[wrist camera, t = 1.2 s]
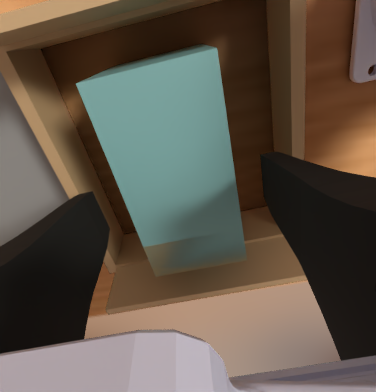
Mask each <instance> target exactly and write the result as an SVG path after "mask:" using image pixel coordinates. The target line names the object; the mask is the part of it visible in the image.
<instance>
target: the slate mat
mask: <svg viewBox="0 0 376 392" xmlns="http://www.w3.org/2000/svg"><path fill="white" fill-rule="evenodd" d="M68 200H69V197H68V195H67V193H66V191H65V190H64V188H63V186H62V184H61V182H60V180H59V179H58V177H57V175H56V173H55V171H54V169H53V167H52V166H51V164H50V162H49V160H48V158H47V156H46V155H45V153H44V151H43V149H42V147H41V145H40V143H39V142H38V140H37V138H36V136H35V134H34V132H33V131H32V129H31V127H30V125H29V123H28V121H27V119H26V118H25V116H24V114H23V112H22V110H21V108H20V106H19V105H18V103H17V101H16V99H15V97H14V95H13V94H12V92H11V90H10V88H9V86H8V84H7V82H6V81H5V79H4V77H3V75H2V73H1V71H0V246H2V245H3V244H5V243H7V242H8V241H10V240H12V239H13V238H15V237H16V236H18V235H19V234H21V233H22V232H24V231H25V230H27V229H28V228H30V227H31V226H33V225H34V224H35V223H37V222H38V221H40V220H41V219H43V218H44V217H45V216H47V215H48V214H50V213H51V212H52V211H54V210H55V209H56V208H58V207H59V206H61V205H62V204H63V203H65V202H66V201H68Z"/></svg>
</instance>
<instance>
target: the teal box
mask: <svg viewBox="0 0 376 392" xmlns="http://www.w3.org/2000/svg"><path fill="white" fill-rule="evenodd" d="M76 86H77V88H78V90H79V93H80V95H81V98H82V100H83V103H84V105H85V107H86V110H87V112H88V115H89V117H90V119H91V122H92V124H93V127H94V129H95V132H96V134H97V136H98V139H99V141H100V144H101V146H102V148H103V151H104V153H105V156H106V158H107V161H108V163H109V165H110V168H111V170H112V173H113V175H114V178H115V180H116V182H117V185H118V187H119V190H120V192H121V194H122V197H123V199H124V202H125V204H126V207H127V209H128V211H129V214H130V216H131V219H132V221H133V223H134V226H135V228H136V231H137V233H138V236H139V238H140V240H141V243H142V245H143V248H144V250H145V252H146V255H147V257H148V260H149V262H150V265H151V267H152V269H153V272H154V274H155V277H158V276H164V275H169V274H175V273H180V272H186V271H191V270H197V269H202V268H208V267H213V266H219V265H224V264H230V263H235V262H241V261H246V260H247V256H246V249H245V242H244V234H243V227H242V220H241V213H240V206H239V199H238V192H237V185H236V178H235V171H234V164H233V157H232V150H231V143H230V136H229V128H228V121H227V114H226V107H225V100H224V93H223V86H222V79H221V72H220V65H219V58H218V51H217V48H216V47H212V46H208V45H204V44H199V45H195V46H191V47H187V48H183V49H179V50H175V51H171V52H167V53H163V54H159V55H156V56H152V57H148V58H144V59H140V60H136V61H132V62H128V63H124V64H120V65H116V66H113V67H111V68H109V69H107V70H105V71H102V72H100V73H98V74H96V75H94V76H91V77H89V78H87V79H85V80H82V81H80V82H78V83H76Z"/></svg>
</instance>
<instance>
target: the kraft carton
mask: <svg viewBox="0 0 376 392" xmlns="http://www.w3.org/2000/svg"><path fill="white" fill-rule="evenodd" d="M217 1H221V0H48V1H45V2H41V3H38V4H34V5H31V6H27V7H24V8H20V9H16V10H13V11H9V12H6V13H2V14H0V71H1V73H2V75H3V77H4V79H5V81H6V82H7V84H8V86H9V88H10V90H11V92H12V94H13V95H14V97H15V99H16V101H17V103H18V105H19V106H20V108H21V110H22V112H23V114H24V116H25V118H26V119H27V121H28V123H29V125H30V127H31V129H32V131H33V132H34V134H35V136H36V138H37V140H38V142H39V143H40V145H41V147H42V149H43V151H44V153H45V155H46V156H47V158H48V160H49V162H50V164H51V166H52V167H53V169H54V171H55V173H56V175H57V177H58V179H59V180H60V182H61V184H62V186H63V188H64V190H65V191H66V193H67V195H68V197H69V199H71V198H73V197H74V196H76V195H78V194H82V193H86V192H91V191H93V193H94V196H95V198H96V200H97V202H98V204H99V206H100V208H101V210H102V212H103V214H104V217H105V219H106V221H107V223H108V225H109V227H110V233H109V241H108V247H107V251H106V254H105V257H104V261H103V262H104V264H105V265H106V267H107V269H108V271H109V273H110V274H111V273H115V276H114V280H113V283H112V287H111V291H110V295H109V298H108V302H107V306H106V312H107V313H108V314H114V313H120V312H126V311H132V310H137V309H143V308H149V307H155V306H161V305H166V304H172V303H178V302H184V301H190V300H195V299H201V298H207V297H213V296H219V295H224V294H230V293H236V292H242V291H248V290H253V289H259V288H265V287H271V286H277V285H282V284H288V283H294V282H300V281H306V280H307V278H306V276H305V273H304V271H303V269H302V267H301V265H300V263H299V261H298V259H297V257H296V255H295V254H294V252H293V250H292V249H291V247H290V245H289V244H288V242H287V240H286V239H285V237H284V236H283V234H282V232H281V231H280V229H279V227H278V226H277V224H276V222H275V221H274V219H273V217H272V215H271V213H270V211H269V208H268V206H265V207H260V208H255V209H250V210H245V211H240V213H241V220H242V227H243V234H244V242H245V249H246V256H247V260H246V261H241V262H235V263H230V264H224V265H219V266H213V267H208V268H202V269H197V270H191V271H186V272H180V273H175V274H169V275H164V276H158V277H155V274H154V272H153V269H152V267H151V265H150V262H149V260H148V257H147V255H146V252H145V250H144V248H143V245H142V243H141V240H140V238H139V236H138V233H137V232H134V233H129V234H123V231H122V229H121V227H120V225H119V222H118V220H117V218H116V216H115V214H114V211H113V209H112V207H111V205H110V202H109V200H108V198H107V196H106V194H105V191H104V189H103V187H102V185H101V182H100V180H99V178H98V176H97V174H96V171H95V169H94V167H93V165H92V162H91V160H90V158H89V156H88V154H87V151H86V149H85V147H84V145H83V143H82V140H81V138H80V136H79V134H78V131H77V129H76V127H75V125H74V123H73V120H72V118H71V116H70V114H69V111H68V109H67V107H66V105H65V103H64V100H63V98H62V96H61V94H60V91H59V89H58V87H57V85H56V83H55V80H54V78H53V76H52V74H51V71H50V69H49V67H48V65H47V63H46V60H45V58H44V56H43V54H42V51H41V48H45V47H49V46H53V45H56V44H60V43H64V42H68V41H71V40H75V39H79V38H83V37H86V36H90V35H94V34H98V33H101V32H105V31H109V30H113V29H116V28H120V27H124V26H127V25H131V24H135V23H139V22H142V21H146V20H150V19H154V18H157V17H161V16H165V15H169V14H172V13H176V12H180V11H184V10H187V9H191V8H195V7H199V6H202V5H206V4H210V3H213V2H217ZM266 8H267V27H268V46H269V66H270V85H271V104H272V124H273V143H274V152H275V151H276V152H281V153H284V154H287V155H290V156H293V157H296V158H299V159H301V160H304V146H305V70H306V0H266Z"/></svg>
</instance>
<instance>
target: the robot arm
mask: <svg viewBox="0 0 376 392" xmlns="http://www.w3.org/2000/svg"><path fill="white" fill-rule="evenodd" d="M372 65H374V69H373V71H372V73H371V74H368V70H369V68H370V67H371V66H372ZM349 76H350V79H351V81H353V82H356V83H363V82H367V81H372V80H376V0H356V7H355V18H354V29H353V40H352V50H351V61H350V72H349ZM260 157H261V169H262V181H263V193H264V199H265V201H266V204H267V206H268V208H269V211H270V213H271V215H272V217H273V219H274V221H275V222H276V224H277V226H278V227H279V229H280V231H281V232H282V234H283V236H284V237H285V239H286V240H287V242H288V244H289V245H290V247H291V249H292V250H293V252H294V254H295V255H296V257H297V259H298V261H299V263H300V265H301V267H302V269H303V271H304V273H305V276H306V278H307V280H308V282H309V284H310V286H311V289H312V291H313V293H314V295H315V298H316V300H317V303H318V305H319V307H320V309H321V312H322V314H323V316H324V319H325V321H326V324H327V326H328V329H329V331H330V333H331V336H332V338H333V341H334V343H335V346H336V349H337V351H338V354H339V356H340V359H341V361H336V362H329V363H323V364H316V365H309V366H303V367H296V368H290V369H283V370H276V371H270V372H264V373H257V374H250V375H244V376H237V377H231V378H228V375H227V372H226V368H225V364H224V361H223V360H222V358H221V357H220V356H219V355H218V354H217V353H216V352H215V350H214V349H213V348H212V347H211V346H210V345H209V343H207V342H206V341H204V340H202V339H200V338H197V337H194V336H191V335H188V334H185V333H182V332H180V331H177V330H136V331H131V332H125V333H119V334H113V335H107V336H101V337H95V338H89V339H84V336H85V330H86V324H87V319H88V314H89V309H90V304H91V300H92V296H93V292H94V289H95V286H96V283H97V280H98V276H99V273H100V270H101V267H102V264H103V261H104V257H105V254H106V251H107V247H108V241H109V233H110V227H109V225H108V223H107V221H106V219H105V217H104V214H103V212H102V210H101V208H100V206H99V204H98V202H97V200H96V198H95V196H94V193H93V191H91V192H86V193H82V194H78V195H76V196H74V197H73V198H71V199H69V200H68V201H66V202H65V203H63V204H62V205H61V206H59V207H58V208H56V209H55V210H54V211H52V212H51V213H50V214H48V215H47V216H45V217H44V218H43V219H41V220H40V221H38V222H37V223H35V224H34V225H33V226H31V227H30V228H28V229H27V230H25V231H24V232H22V233H21V234H19V235H18V236H16V237H15V238H13V239H12V240H10V241H8V242H7V243H5V244H3V245H2V246H0V392H376V178H374V177H368V176H362V175H357V174H352V173H347V172H342V171H338V170H334V169H331V168H327V167H323V166H320V165H317V164H313V163H310V162H307V161H304V160H301V159H299V158H296V157H293V156H290V155H287V154H284V153H281V152H276V151H275V152H270V153H266V154H261V155H260Z"/></svg>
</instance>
